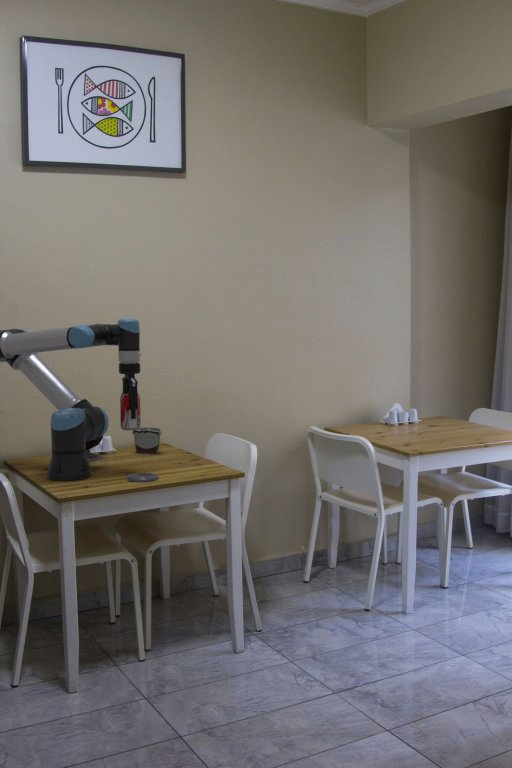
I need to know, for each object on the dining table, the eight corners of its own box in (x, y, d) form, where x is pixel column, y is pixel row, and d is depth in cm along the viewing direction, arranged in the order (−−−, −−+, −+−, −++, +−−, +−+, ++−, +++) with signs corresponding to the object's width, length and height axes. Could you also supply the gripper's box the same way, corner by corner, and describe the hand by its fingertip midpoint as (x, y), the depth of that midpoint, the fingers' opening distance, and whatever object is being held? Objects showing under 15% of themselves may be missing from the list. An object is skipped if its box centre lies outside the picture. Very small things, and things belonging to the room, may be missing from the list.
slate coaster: (130, 483, 289) (130, 481, 289) (123, 476, 299) (123, 474, 299) (162, 480, 293) (161, 478, 293) (154, 474, 303) (154, 472, 303)
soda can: (142, 427, 309) (142, 392, 307) (138, 431, 301) (137, 394, 300) (123, 427, 309) (122, 391, 308) (118, 430, 302) (117, 394, 301)
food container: (166, 452, 345) (166, 427, 344) (160, 455, 339) (160, 430, 338) (139, 450, 349) (138, 426, 348) (132, 453, 343) (132, 428, 342)
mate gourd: (69, 455, 338) (67, 405, 336) (104, 454, 341) (103, 405, 339) (66, 463, 323) (65, 411, 321) (104, 462, 325) (102, 410, 323)
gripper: (146, 364, 295) (147, 429, 297) (133, 360, 313) (134, 421, 316) (124, 364, 292) (126, 431, 295) (113, 360, 311) (114, 422, 313)
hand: (130, 426), depth 305 cm, fingers closed on soda can, 7 cm apart
